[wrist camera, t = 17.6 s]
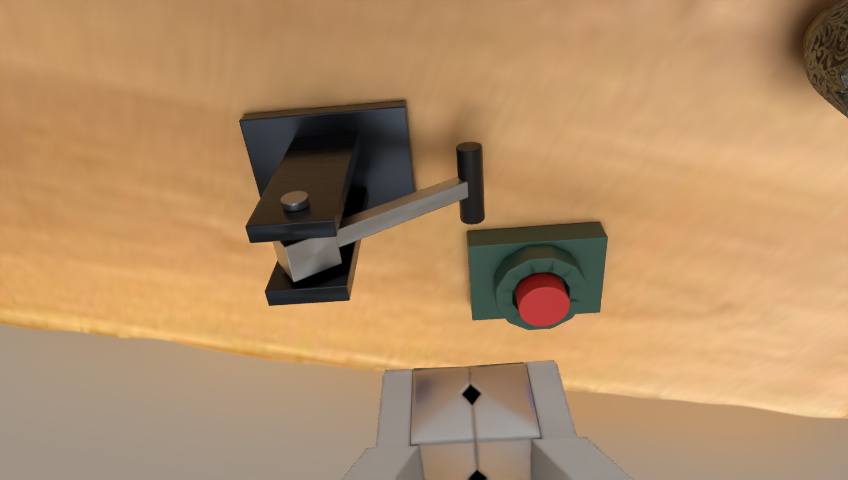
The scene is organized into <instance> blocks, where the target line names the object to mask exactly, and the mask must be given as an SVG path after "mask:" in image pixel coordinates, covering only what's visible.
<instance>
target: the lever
mask: <svg viewBox="0 0 848 480" xmlns="http://www.w3.org/2000/svg"><path fill="white" fill-rule="evenodd" d="M456 155H457V171H458V177H456V178H453V179H450V180H447V181H445V182H442V183H439V184H436V185H434V186H431V187H428V188H426V189H423V190H420V191H417V192H415V193H412V194H409V195H406V196H404V197H401V198H398V199H396V200H393V201H390V202H387V203H385V204H382V205H379V206H376V207H374V208H371V209H368V210H366V211H363V212H360V213H357V214H355V215H352V216H349V217H346V218H344V219H341V222H340V226H339V229H338V233H337V236H336V237H327V238H313V239H299V240H285V241H273V244H274V248H275V251H276V255H277V259H278V262H279V264H280V265H281V266H282V267H283V269H284V270H285V271H286V273H287V274H288V275H289V277H290V278H291V279H292V280H293V282H296V281H299V280H301V279H304V278H306V277H308V276H311V275H313V274H316V273H318V272H321V271H323V270H326V269H328V268H331V267H333V266H336V265H338V264H341V263H342V261H341V256H340V251H339V247H341V246H344V245H347V244H349V243H352V242H354V241H357V240H359V239H362V238H365V237H367V236H370V235H372V234H375V233H377V232H380V231H383V230H385V229H388V228H390V227H393V226H395V225H398V224H401V223H403V222H406V221H408V220H411V219H413V218H416V217H419V216H421V215H424V214H426V213H429V212H431V211H434V210H437V209H439V208H442V207H444V206H447V205H449V204H452V203H455V202H457V201H459V204H460V219H461V221H462V222H463V223H466V224H478V223H481V222H482V221H483V220H484V218H485V212H484V182H483V153H482V145H481V144H480V143H477V142H464V143H461V144H459V145H458V146H457V147H456Z"/></svg>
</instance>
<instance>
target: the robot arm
mask: <svg viewBox="0 0 848 480" xmlns="http://www.w3.org/2000/svg"><path fill="white" fill-rule="evenodd" d="M379 409H380V410H379V419H378V429H377V439H376V440H377V441H376V448H367V449H366V450H365V451H364V453H363V454H362V455H361V456H360V457H359V459H358V460H357V461H356V462H355V463H354V465H353V466H352V467H351V468H350V470H349V471H348V472H347V473H346V474H345V476H344V477H343V478H342V479H341V480H634V479H633V478H631V477H630V476H629V475H628V474H627V473H626V472H625V471H624V470H623V469H621V468H620V467H619V466H618V465H617V464H616V463H615V462H614V461H613V460H611V459H610V458H609V457H608V456H607V455H606V454H605V453H604V452H602V451H601V450H600V449H599V448H598V447H597V446H596V445H595V444H594V443H592V442H591V441H590V440H589V439H588V438H587V437H577V435H576V431H575V427H574V424H573V420H572V416H571V413H570V410H569V406H568V402H567V399H566V395H565V391H564V387H563V384H562V380H561V377H560V373H559V369H558V366H557V364H556V362H555V361H554V360H549V361H534V362H525V363H524V362H521V363H506V364H492V365H477V366H469V367H442V368H414V369H401V370H385V372H384V375H383V378H382V388H381V398H380V408H379Z"/></svg>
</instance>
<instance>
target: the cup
mask: <svg viewBox="0 0 848 480" xmlns="http://www.w3.org/2000/svg"><path fill="white" fill-rule="evenodd" d="M803 48H804V52H805V54H804V67H805V71H806V74H807V77H808V79H809V81H810V83H811V84H812V86H813V87H814V88H815V90H816V91H817V92H818V93H819V94H820V95H821V96H822V97H823V98H824V99H825V100H826V101H828V102H829V103H830V104H831V105H832V106H834V107H835V108H836V109H837V110H839V111H840V112H841V113H842V114H844V115H845V116H846V117H847V118H848V0H842V1H840V2H839V3H838V4H836V5H835V6H832V7H830V8H828V9H826V10H824V11H822V12H821V13H820V14H818V15H817V16H816V17H815V18H814V19H813V20H812V22H811V23H810V24H809V26H808V27H807V29H806V31H805V34H804V38H803Z"/></svg>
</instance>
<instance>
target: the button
mask: <svg viewBox="0 0 848 480" xmlns="http://www.w3.org/2000/svg"><path fill="white" fill-rule="evenodd" d="M516 301H517V305H518V310H519V314H520V316H521V317H522V319H523V320H524V321H526V322H527V323H529V324H531V325H534V326H549V325H553V324H555V323H557V322H559V321H560V320H562V319H563V318H564V317H565V316H566V314H567V312H568V310H569V306H570V302H569V298H568V295H567V292H566V289H565V286H564V284H563V282H562V281H561V280H560V279H559V278H558V277H556V276H554V275H552V274H548V273H537V274H533V275H530V276H528V277H526V278H525V279H524V280H522V281H521V283H520V284H519V285H518V287H517V289H516Z"/></svg>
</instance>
